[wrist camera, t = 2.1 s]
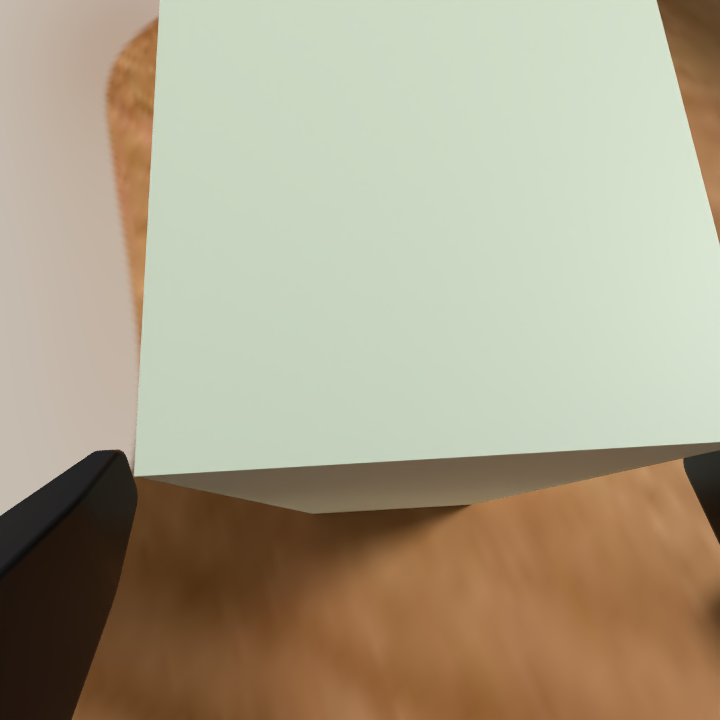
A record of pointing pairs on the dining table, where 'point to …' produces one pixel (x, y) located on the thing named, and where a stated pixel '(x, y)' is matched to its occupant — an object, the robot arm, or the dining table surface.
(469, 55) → the pillar
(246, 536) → the dining table surface
